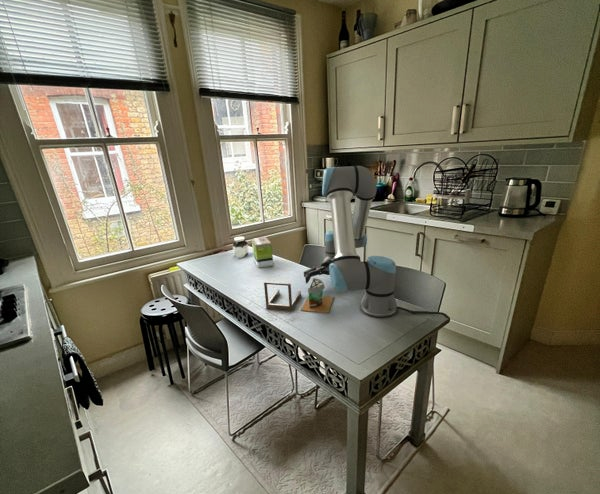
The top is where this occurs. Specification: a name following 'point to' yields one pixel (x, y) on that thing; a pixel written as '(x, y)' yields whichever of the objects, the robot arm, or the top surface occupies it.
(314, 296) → the food container
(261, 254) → the tea box
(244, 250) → the spread jar
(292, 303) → the rack
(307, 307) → the cork mat
